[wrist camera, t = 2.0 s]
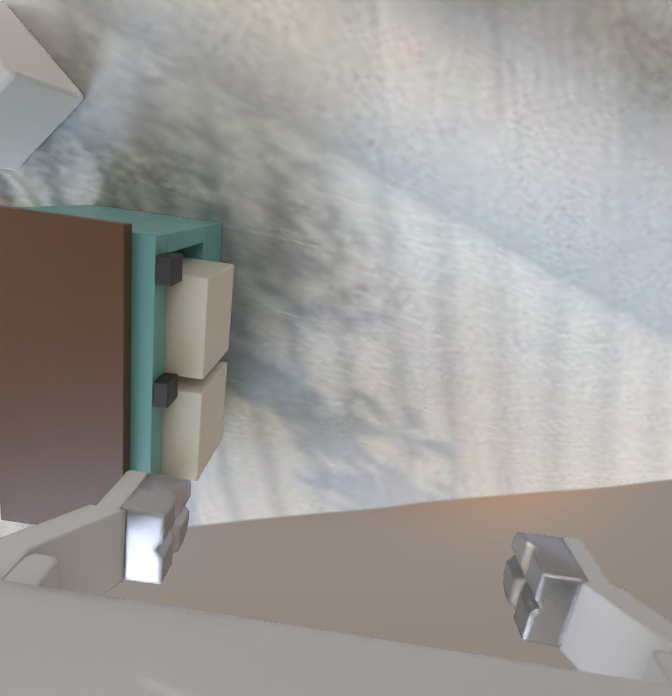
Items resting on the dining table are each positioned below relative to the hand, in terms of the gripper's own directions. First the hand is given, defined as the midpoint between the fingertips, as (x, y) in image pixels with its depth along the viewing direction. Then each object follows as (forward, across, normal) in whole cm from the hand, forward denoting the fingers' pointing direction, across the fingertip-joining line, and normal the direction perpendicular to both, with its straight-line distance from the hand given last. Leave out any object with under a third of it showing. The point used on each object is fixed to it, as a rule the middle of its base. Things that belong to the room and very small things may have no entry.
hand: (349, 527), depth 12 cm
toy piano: (+24, +14, +3) cm, 28 cm away
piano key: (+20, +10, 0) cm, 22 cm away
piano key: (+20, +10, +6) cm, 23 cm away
